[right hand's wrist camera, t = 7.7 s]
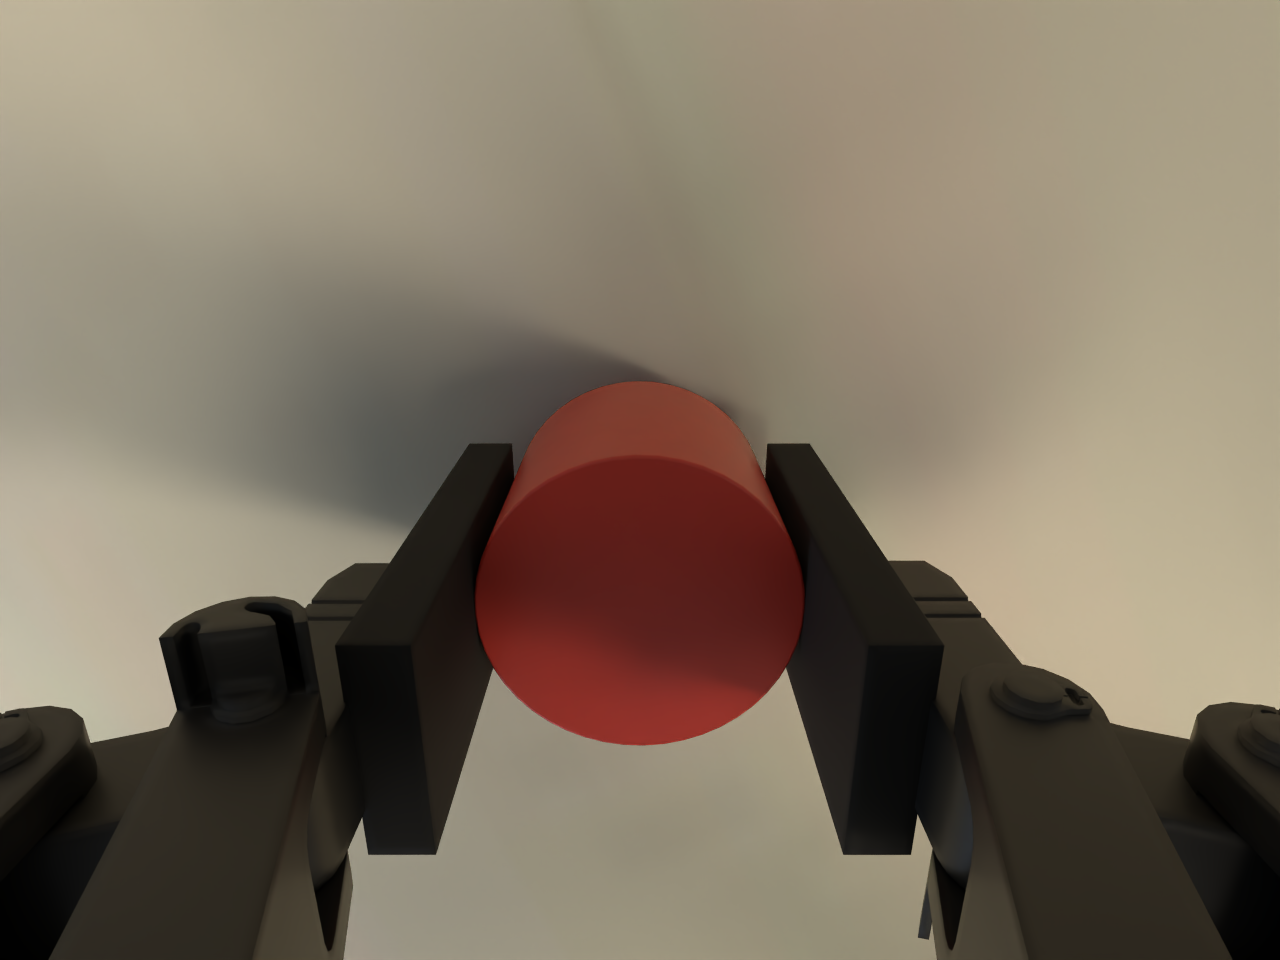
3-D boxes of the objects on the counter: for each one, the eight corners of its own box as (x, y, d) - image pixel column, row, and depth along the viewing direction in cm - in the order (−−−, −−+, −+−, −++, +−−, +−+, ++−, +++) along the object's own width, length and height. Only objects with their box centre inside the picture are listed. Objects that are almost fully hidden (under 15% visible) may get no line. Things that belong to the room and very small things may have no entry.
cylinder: (812, 475, 14) (875, 579, 10) (664, 647, 16) (672, 795, 12) (610, 328, 13) (598, 386, 9) (470, 525, 15) (411, 643, 11)
